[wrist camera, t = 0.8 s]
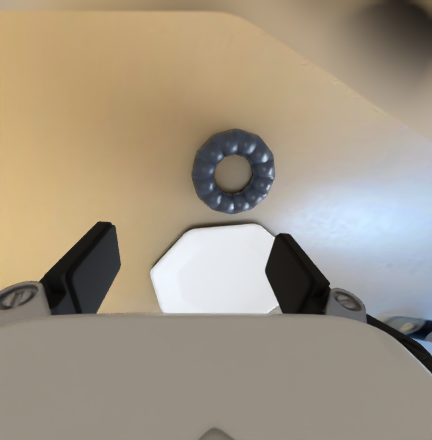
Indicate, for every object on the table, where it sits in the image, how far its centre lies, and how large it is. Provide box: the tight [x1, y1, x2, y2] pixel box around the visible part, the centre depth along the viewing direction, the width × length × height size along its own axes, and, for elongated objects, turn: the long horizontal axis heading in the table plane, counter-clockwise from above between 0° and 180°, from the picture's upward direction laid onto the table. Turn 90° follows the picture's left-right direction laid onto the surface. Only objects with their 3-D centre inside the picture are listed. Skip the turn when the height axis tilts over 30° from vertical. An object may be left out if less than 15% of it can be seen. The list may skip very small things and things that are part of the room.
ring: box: [192, 129, 275, 214], centre depth 26 cm, size 12×12×3 cm
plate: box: [150, 223, 279, 314], centre depth 37 cm, size 28×28×2 cm
